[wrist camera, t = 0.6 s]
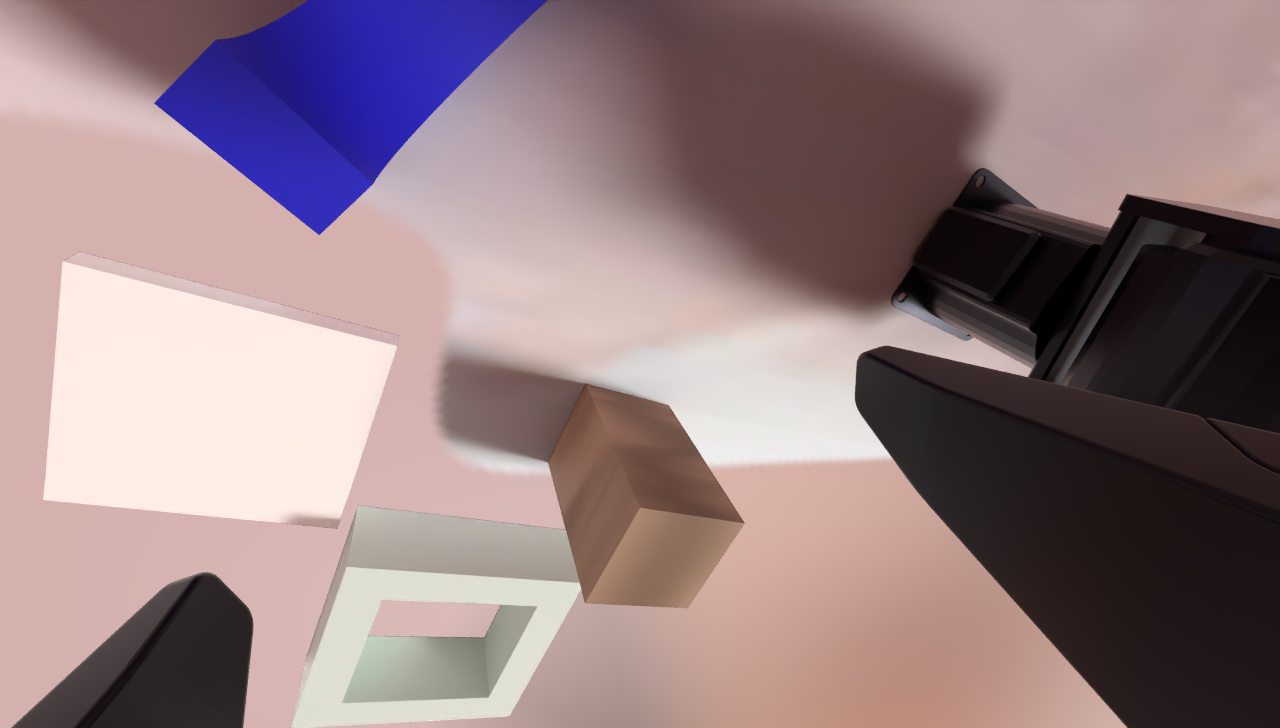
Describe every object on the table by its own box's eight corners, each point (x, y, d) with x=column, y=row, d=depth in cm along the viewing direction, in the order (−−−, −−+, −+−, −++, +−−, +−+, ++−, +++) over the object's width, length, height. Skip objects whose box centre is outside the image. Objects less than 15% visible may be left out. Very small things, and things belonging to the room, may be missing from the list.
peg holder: (570, 530, 25) (584, 583, 22) (502, 657, 28) (508, 716, 25) (358, 505, 21) (346, 566, 18) (306, 657, 24) (290, 728, 21)
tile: (399, 335, 18) (397, 346, 17) (340, 513, 20) (337, 528, 20) (79, 251, 14) (62, 261, 13) (58, 482, 17) (43, 499, 16)
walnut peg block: (668, 405, 23) (744, 523, 17) (629, 476, 24) (687, 607, 19) (586, 383, 21) (640, 507, 15) (548, 462, 22) (585, 602, 17)
